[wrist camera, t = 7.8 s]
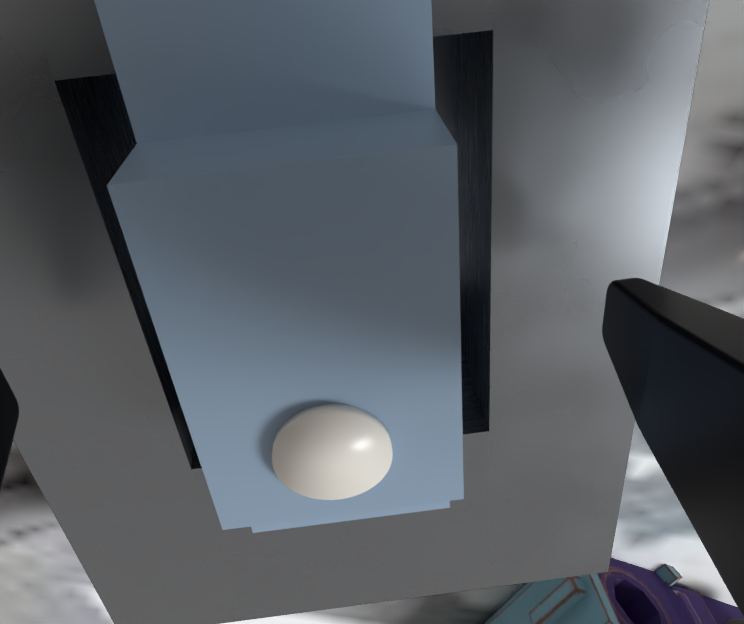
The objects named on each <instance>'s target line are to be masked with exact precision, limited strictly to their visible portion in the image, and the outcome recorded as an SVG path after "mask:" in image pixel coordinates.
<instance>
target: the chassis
mask: <svg viewBox="0 0 744 624" xmlns="http://www.w3.org/2000/svg"><path fill="white" fill-rule="evenodd" d="M431 4H432V32H433V59H434V86H435V109H436V111H437V113H438V114H439V116H440V117H441V119H442V121H443V122H444V124H445V126H446V127H447V129H448V130H449V132H450V134H451V135H452V137H453V138H454V140H455V142H456V143H457V161H458V214H459V268H460V321H461V375H462V428H463V482H464V499H460V500H452V501H450V508H443V509H435V510H428V511H420V512H412V513H404V514H397V515H389V516H381V517H373V518H366V519H358V520H350V521H342V522H335V523H327V524H319V525H311V526H304V527H296V528H288V529H280V530H273V531H265V532H257V533H253V532H252V528H251V526H250V527H243V528H235V529H227V530H222V527H221V524H220V521H219V518H218V515H217V512H216V509H215V506H214V503H213V500H212V497H211V494H210V491H209V488H208V485H207V482H206V479H205V476H204V473H203V470H202V467H201V464H200V461H199V458H198V455H197V452H196V449H195V446H194V443H193V440H192V437H191V434H190V431H189V428H188V425H187V422H186V420H185V417H184V414H183V411H182V408H181V405H180V402H179V399H178V396H177V393H176V390H175V387H174V384H173V381H172V378H171V375H170V372H169V369H168V366H167V363H166V360H165V357H164V354H163V351H162V348H161V345H160V342H159V339H158V336H157V333H156V330H155V327H154V324H153V321H152V318H151V315H150V312H149V310H148V307H147V304H146V301H145V298H144V295H143V292H142V289H141V286H140V283H139V280H138V277H137V274H136V271H135V268H134V265H133V262H132V259H131V256H130V253H129V250H128V247H127V244H126V241H125V238H124V235H123V232H122V229H121V226H120V223H119V220H118V217H117V214H116V211H115V208H114V205H113V203H112V200H111V197H110V194H109V191H108V188H107V185H108V183H109V182H110V180H111V179H112V178H113V176H114V175H115V173H116V172H117V171H118V169H119V168H120V166H121V165H122V164H123V162H124V161H125V160H126V158H127V157H128V155H129V154H130V153H131V151H132V150H133V148H134V147H135V146H136V144H137V142H136V139H135V136H134V132H133V129H132V126H131V122H130V119H129V116H128V112H127V109H126V106H125V102H124V99H123V95H122V92H121V89H120V85H119V82H118V79H117V75H116V72H115V69H114V65H113V62H112V59H111V55H110V52H109V48H108V45H107V42H106V38H105V35H104V32H103V28H102V25H101V22H100V18H99V15H98V12H97V8H96V5H95V1H94V0H0V368H1V370H2V372H3V374H4V376H5V378H6V380H7V381H8V383H9V385H10V387H11V389H12V391H13V393H14V395H15V397H16V399H17V401H18V405H19V418H18V422H17V426H16V430H15V434H14V438H13V440H14V442H15V444H16V446H17V448H18V449H19V451H20V453H21V455H22V457H23V459H24V460H25V462H26V464H27V466H28V468H29V469H30V471H31V473H32V475H33V477H34V479H35V480H36V482H37V484H38V486H39V488H40V489H41V491H42V493H43V495H44V497H45V499H46V500H47V502H48V504H49V506H50V508H51V509H52V511H53V513H54V515H55V517H56V519H57V520H58V522H59V524H60V526H61V528H62V530H63V531H64V533H65V535H66V537H67V539H68V540H69V542H70V544H71V546H72V548H73V550H74V551H75V553H76V555H77V557H78V559H79V560H80V562H81V564H82V566H83V568H84V570H85V571H86V573H87V575H88V577H89V579H90V580H91V582H92V584H93V586H94V588H95V590H96V591H97V593H98V595H99V597H100V599H101V600H102V602H103V604H104V606H105V608H106V610H107V611H108V613H109V615H110V617H111V619H112V620H113V622H114V624H220V623H227V622H235V621H242V620H250V619H257V618H265V617H272V616H280V615H287V614H295V613H302V612H310V611H317V610H325V609H332V608H340V607H348V606H355V605H363V604H370V603H378V602H385V601H393V600H400V599H408V598H415V597H423V596H430V595H438V594H445V593H453V592H460V591H468V590H475V589H483V588H490V587H498V586H505V585H513V584H520V583H528V582H535V581H543V580H550V579H558V578H565V577H573V576H580V575H588V574H596V573H603V572H608V570H609V564H610V558H611V553H612V547H613V542H614V536H615V530H616V525H617V519H618V513H619V508H620V502H621V496H622V491H623V485H624V479H625V474H626V468H627V462H628V457H629V451H630V446H631V440H632V434H633V429H634V423H635V418H634V415H633V413H632V411H631V408H630V406H629V403H628V401H627V398H626V396H625V393H624V391H623V388H622V386H621V383H620V381H619V379H618V376H617V374H616V371H615V369H614V366H613V364H612V361H611V359H610V356H609V354H608V351H607V349H606V346H605V344H604V340H603V335H602V324H603V316H604V308H605V300H606V292H607V288H608V286H609V284H610V283H611V282H612V281H614V280H620V279H628V278H641V279H644V280H646V281H649V282H652V283H654V284H657V285H659V282H660V276H661V270H662V265H663V259H664V254H665V248H666V242H667V237H668V231H669V225H670V220H671V214H672V208H673V203H674V197H675V191H676V186H677V180H678V174H679V169H680V163H681V158H682V152H683V146H684V141H685V135H686V129H687V124H688V118H689V112H690V107H691V101H692V95H693V90H694V84H695V78H696V73H697V67H698V62H699V56H700V50H701V45H702V39H703V33H704V28H705V22H706V16H707V11H708V5H709V0H431Z"/></svg>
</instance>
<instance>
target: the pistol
mask: <svg viewBox="0 0 744 624" xmlns="http://www.w3.org/2000/svg"><path fill="white" fill-rule="evenodd" d="M681 578H682V576H681V575H680V574H679V573H678V572H677V571H676V570H675V568H674V567H672V566H669V565H666V564H664V565H663V566H662V567H661V568H660V569H658V570H657V571H656V572H653V571H650V570H647V569H644V568H641V567H638V566H635V565H632V564H629V563H626V562H623V561H620V560H617V559H614V558H610V564H609V570H608V572H603V573H596V574H588V575H580V576H573V577H565V578H558V579H550V580H543V581H535V582H528V583H526V584H525V585H524V586H523V587H522V588H521V589H520V590H519V591H518V592H517V593H516V594H514V595H513V596H512V597H511V598H510V599H509V600H508V601H507V602H506V603H505V604H504V605H503V606H502V607H501V608H500V609H499V610H497V611H496V612H495V613H494V614H493V615H492V616H491V617H490V618H489V619H488V620H487V621H486V622H485V623H484V624H744V617H743V615H742V613H741V612H740V610H739V608H738V607H735V606H732V605H729V604H726V603H723V602H720V601H717V600H714V599H711V598H708V597H705V596H702V595H700V594H699V593H697V592H694V591H691V590H688V589H685V588H681V587H675V586H672V585H674V584H675V583H676V582H677V581H678V580H680V579H681Z"/></svg>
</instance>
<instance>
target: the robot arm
mask: <svg viewBox="0 0 744 624" xmlns="http://www.w3.org/2000/svg"><path fill="white" fill-rule="evenodd" d="M602 335H603V340H604V344H605V346H606V349H607V351H608V354H609V356H610V359H611V361H612V364H613V366H614V369H615V371H616V374H617V376H618V379H619V381H620V383H621V386H622V388H623V391H624V393H625V396H626V398H627V401H628V403H629V406H630V408H631V411H632V413H633V415H634V418H635V420H636V422H637V425H638V427H639V429H640V430H641V432H642V434H643V436H644V438H645V440H646V442H647V444H648V445H649V447H650V449H651V451H652V453H653V454H654V456H655V458H656V460H657V462H658V464H659V465H660V467H661V469H662V471H663V473H664V474H665V476H666V478H667V480H668V482H669V483H670V485H671V487H672V489H673V491H674V492H675V494H676V496H677V498H678V500H679V501H680V503H681V505H682V507H683V509H684V510H685V512H686V514H687V516H688V518H689V519H690V521H691V523H692V525H693V527H694V529H695V530H696V532H697V534H698V536H699V538H700V539H701V541H702V543H703V545H704V547H705V548H706V550H707V552H708V554H709V556H710V557H711V559H712V561H713V563H714V565H715V566H716V568H717V570H718V572H719V574H720V575H721V577H722V579H723V581H724V583H725V584H726V586H727V588H728V590H729V592H730V594H731V595H732V597H733V599H734V601H735V603H736V604H737V606H738V608H739V610H740V612H741V613H742V615H743V617H744V319H743V318H741V317H738V316H735V315H733V314H730V313H728V312H725V311H723V310H720V309H718V308H715V307H713V306H710V305H707V304H705V303H702V302H700V301H697V300H695V299H692V298H690V297H687V296H685V295H682V294H680V293H677V292H674V291H672V290H669V289H667V288H664V287H662V286H659V285H657V284H654V283H652V282H649V281H646V280H644V279H641V278H628V279H620V280H614V281H612V282H611V283H610V284H609V286H608V288H607V292H606V300H605V308H604V316H603V324H602ZM18 418H19V405H18V401H17V399H16V397H15V395H14V393H13V391H12V389H11V387H10V385H9V383H8V381H7V380H6V378H5V376H4V374H3V372H2V370H1V368H0V490H1V486H2V482H3V478H4V474H5V470H6V466H7V462H8V458H9V454H10V450H11V446H12V442H13V438H14V434H15V430H16V426H17V422H18Z"/></svg>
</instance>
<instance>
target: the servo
mask: <svg viewBox="0 0 744 624" xmlns="http://www.w3.org/2000/svg"><path fill="white" fill-rule="evenodd" d="M94 1H95V5H96V8H97V12H98V15H99V18H100V22H101V25H102V28H103V32H104V35H105V38H106V42H107V45H108V48H109V52H110V55H111V59H112V62H113V65H114V69H115V72H116V75H117V79H118V82H119V85H120V89H121V92H122V95H123V99H124V102H125V106H126V109H127V112H128V116H129V119H130V122H131V126H132V129H133V132H134V136H135V139H136V142H137V144H136V146H135V147H134V148H133V150H132V151H131V153H130V154H129V155H128V157H127V158H126V160H125V161H124V162H123V164H122V165H121V166H120V168H119V169H118V171H117V172H116V173H115V175H114V176H113V178H112V179H111V180H110V182H109V183H108V185H107V188H108V191H109V194H110V197H111V200H112V203H113V205H114V208H115V211H116V214H117V217H118V220H119V223H120V226H121V229H122V232H123V235H124V238H125V241H126V244H127V247H128V250H129V253H130V256H131V259H132V262H133V265H134V268H135V271H136V274H137V277H138V280H139V283H140V286H141V289H142V292H143V295H144V298H145V301H146V304H147V307H148V310H149V312H150V315H151V318H152V321H153V324H154V327H155V330H156V333H157V336H158V339H159V342H160V345H161V348H162V351H163V354H164V357H165V360H166V363H167V366H168V369H169V372H170V375H171V378H172V381H173V384H174V387H175V390H176V393H177V396H178V399H179V402H180V405H181V408H182V411H183V414H184V417H185V420H186V422H187V425H188V428H189V431H190V434H191V437H192V440H193V443H194V446H195V449H196V452H197V455H198V458H199V461H200V464H201V467H202V470H203V473H204V476H205V479H206V482H207V485H208V488H209V491H210V494H211V497H212V500H213V503H214V506H215V509H216V512H217V515H218V518H219V521H220V524H221V527H222V530H227V529H235V528H243V527H250V526H251V528H252V532H253V533H257V532H265V531H273V530H280V529H288V528H296V527H304V526H311V525H319V524H327V523H335V522H342V521H350V520H358V519H366V518H373V517H381V516H389V515H397V514H404V513H412V512H420V511H428V510H435V509H443V508H450V501H452V500H460V499H464V482H463V428H462V375H461V321H460V268H459V214H458V161H457V143H456V142H455V140H454V138H453V137H452V135H451V134H450V132H449V130H448V129H447V127H446V126H445V124H444V122H443V121H442V119H441V117H440V116H439V114H438V113H437V111H436V109H435V86H434V59H433V32H432V4H431V0H94Z"/></svg>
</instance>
